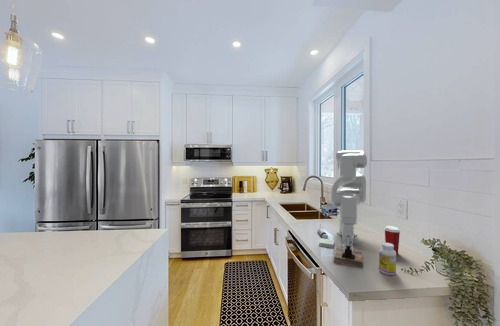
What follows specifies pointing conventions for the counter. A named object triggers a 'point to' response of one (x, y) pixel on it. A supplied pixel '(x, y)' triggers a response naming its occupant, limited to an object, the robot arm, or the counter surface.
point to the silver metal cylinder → (351, 249)
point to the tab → (327, 243)
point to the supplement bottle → (387, 259)
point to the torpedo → (322, 233)
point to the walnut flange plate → (354, 261)
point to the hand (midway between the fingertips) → (348, 254)
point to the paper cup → (392, 236)
